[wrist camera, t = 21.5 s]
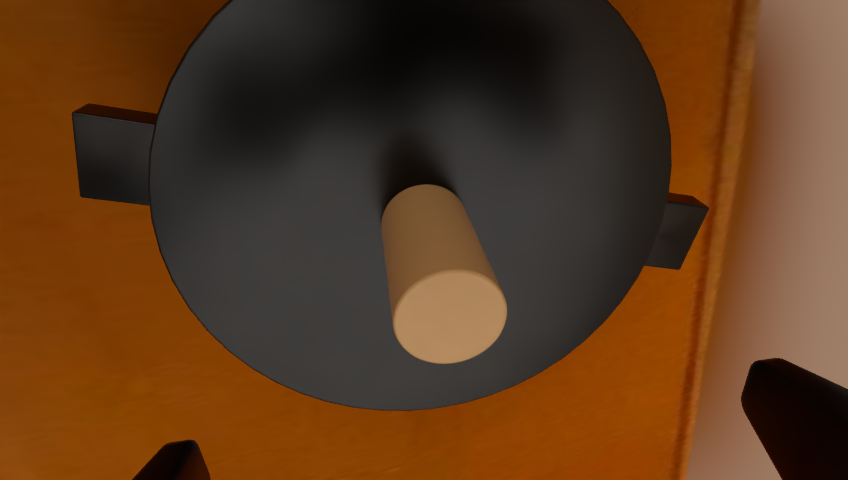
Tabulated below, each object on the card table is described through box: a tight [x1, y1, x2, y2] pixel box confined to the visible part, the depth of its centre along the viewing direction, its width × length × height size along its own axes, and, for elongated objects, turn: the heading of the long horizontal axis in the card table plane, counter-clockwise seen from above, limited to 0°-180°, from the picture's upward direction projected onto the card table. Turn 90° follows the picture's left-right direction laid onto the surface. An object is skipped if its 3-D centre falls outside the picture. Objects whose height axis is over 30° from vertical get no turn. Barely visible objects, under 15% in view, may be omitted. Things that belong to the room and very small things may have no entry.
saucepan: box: [72, 103, 709, 270], centre depth 18 cm, size 13×19×5 cm
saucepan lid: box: [148, 0, 671, 411], centre depth 13 cm, size 14×14×6 cm
